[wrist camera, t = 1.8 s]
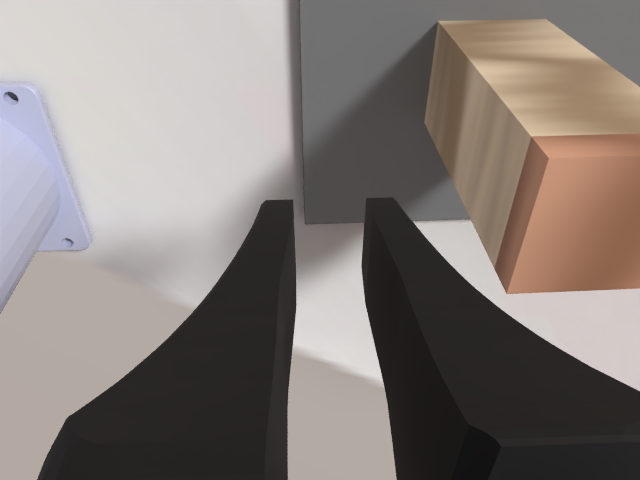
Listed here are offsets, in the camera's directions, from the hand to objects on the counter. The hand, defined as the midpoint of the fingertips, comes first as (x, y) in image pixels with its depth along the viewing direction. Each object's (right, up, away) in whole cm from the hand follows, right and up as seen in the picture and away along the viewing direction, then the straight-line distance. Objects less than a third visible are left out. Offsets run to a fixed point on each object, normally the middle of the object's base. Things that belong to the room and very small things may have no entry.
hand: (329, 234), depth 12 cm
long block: (+6, +6, +8) cm, 12 cm away
